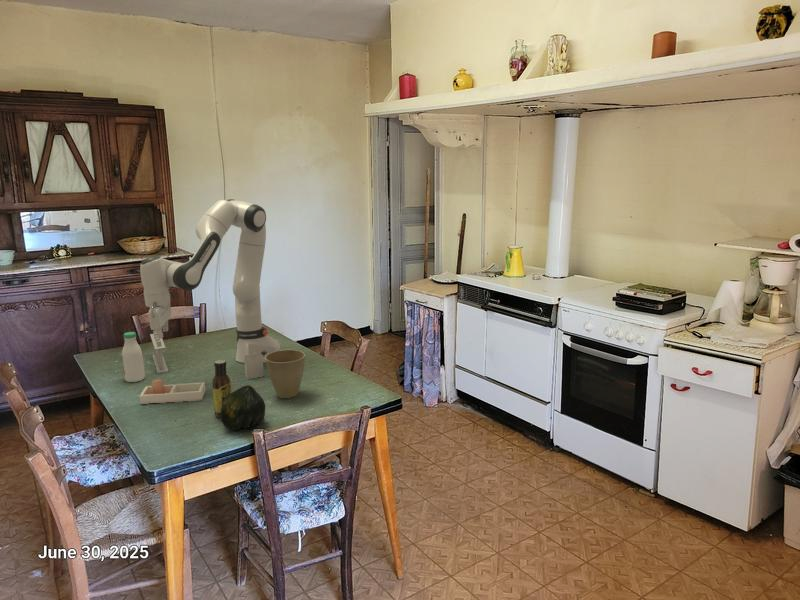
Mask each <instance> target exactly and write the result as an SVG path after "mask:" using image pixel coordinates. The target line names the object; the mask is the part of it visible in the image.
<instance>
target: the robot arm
mask: <svg viewBox="0 0 800 600" xmlns="http://www.w3.org/2000/svg"><path fill="white" fill-rule="evenodd" d="M266 222H267V214H266V210H265V208H263V207H262V206H260V205H258V204H254V203H251V202H248V201H246V200H245V201H243V200H236V199H219V200H218V201H216V202H214V204H213V205H211V206H210V207H209V208H208V209H207V210H206V211H205V212H204V214H203V215H202V216H201V218H199V220H198V221H197V224H196V225H195V233H196V237H197V239H199V240H200V243H199V246H198V248H197V249H196V251H195V252H194V254H193V255H192V257H191V259H190V260H188V261H186V262H179V261H174V260H169V259H166V258H163V257H161V256H159V255H155V256H150V257H147V258H145V259H143V260H142V261H141V262H140V268H139V269H140V270H139V272H140V280H141V284H142V286H143V296H144V297H143V298H144V303H145V307H147V308H149V310H148V320H149V327H150V330H151V331H156V333H157V337H158V339H161V338H162V339H163V338H164V333H165V332H168V331H169V319H170V317H171V316H172V309H171V307H172V306H171V298H172V297H171V292H169V290H170V289H169V288H171V287H173V288H178V289H180V290H184V291H186V292H188V291H193V290H195V289H196V288H198V287H199V285H200V284H201V282H202V281H203V276H204V272H205V270H206V269H207V267H208V265H209V264H210V262H211V261H212V259H213V257H214V255H215V254H216V252H217V250H218V249H219V247H220V244H221V241H222V239H223V238H224V236H225V235H226V234H227V232H228V231H229V229H230V228H231V226H234V227H237V228H240V229H241V232H240V237H239V243H238V249H237V250H238V251H237V256H236V257H237V259H236V264H235V269H234V276H233V284H232V293H233V296H234V303H235V304H234V305H235V306H234V307H235V322H236V328H235V337H236V338H235V339H236V344H237V346H236V347H237V348H236V356H235V361H236V362H239V363H243V364H244V360H245V355H250V354H255V353H261V357H262V361H263V364H266V361H265V356H266V355H267V354H269V353H272V352H275V351H279V350H282V349H281V345H280V343H279V341H278V340H277V339H275V338H274V337H271V336H270V335H268V329H267V327H266V326H265V327H264V326H263V324H262V323H263V322H262V311H261V310H262V309H261V291H260V288H261V287H260V283H261V276H262V270H263V264H264V261H263V260H264V255H265V248H266V241H267V239H266V238H267V229H266V227H267V226H266Z"/></svg>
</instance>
